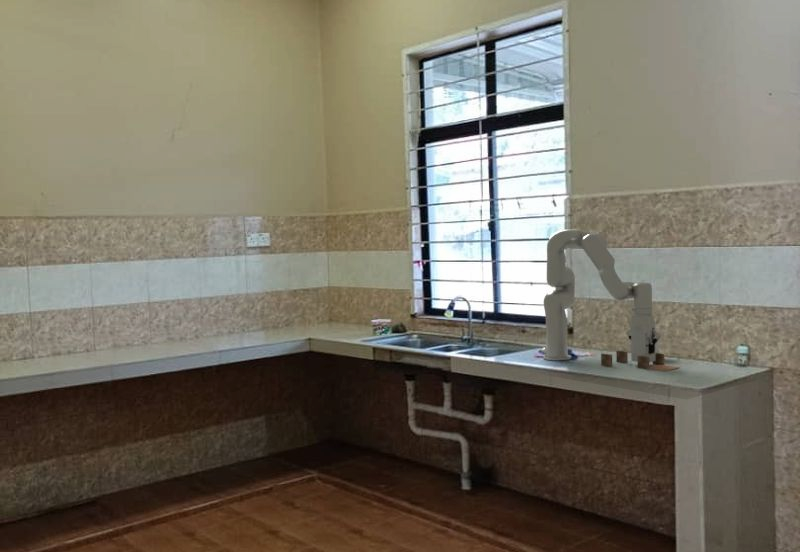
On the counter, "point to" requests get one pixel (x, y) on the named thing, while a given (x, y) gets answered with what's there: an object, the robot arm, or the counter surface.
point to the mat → (663, 367)
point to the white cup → (657, 346)
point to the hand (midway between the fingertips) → (643, 352)
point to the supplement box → (640, 347)
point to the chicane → (623, 358)
